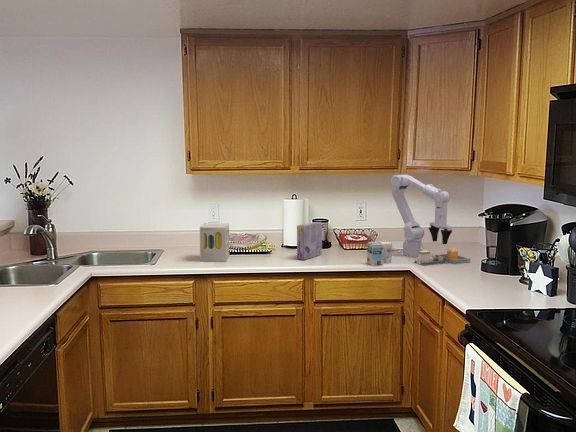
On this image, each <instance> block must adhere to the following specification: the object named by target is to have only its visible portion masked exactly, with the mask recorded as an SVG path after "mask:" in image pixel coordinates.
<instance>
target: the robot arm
mask: <svg viewBox="0 0 576 432" xmlns="http://www.w3.org/2000/svg"><path fill="white" fill-rule="evenodd" d="M389 183H390V186H391V196H392V197H393V200H394V202H395V204H396V207H397V209H398V211H399V214H400V215H401V219H402V220H403V223H404V227H403V228H402V229H403V232H404V238H405V239H404V241H403V243H402V256H406V257H409V258H410V257H411V258H418V251H422V240H423V237H424V236H425V230H424V229H423V228H422V226H421V224H420V223H419V222H417V221H416V220H415V217H414V215H413V212H412V211H411V208H410V206H409V204H408V200H407V198H406V197H405V191H406V190H407V189H408V187H409V186H411V187H413V188H414V189H415V188H416V190H417V189H418V190H420V191H421V192H422V194H423V196H426V197H427V198H430V199H431V200H433V202H434V206H435V210H434V221H433V222H429V227H428V231H429V233H430V234H431V240H432V242H437V241H438V238H439V230H440V229H441V230H440V233H441V237H442V238H441V240H442V242H441V243H442V245H447V244H448V242H449V238H450V237H451V235H452V233H453V230H452V229H453V226H451V225H448V224H447V222H448V219H447V218H448V202H449V201H450V199H451V194H450V193H449V192H448V191H447V190H442V189H441V188H437V187H436V186H434V184H432V183H429V184H424V183H423V182H421V181H420V180H418V179H417V178H415V177H413V176H412V175H409V174H394V175H392V177H391V180H390V182H389Z"/></svg>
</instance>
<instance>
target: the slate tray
mask: <svg viewBox="0 0 576 432" xmlns="http://www.w3.org/2000/svg"><path fill="white" fill-rule="evenodd" d="M439 256H441V257H443V261H445V263H447V264H452V265H460V264H468V263H471V258H468V257H465V256H461V255H459V254H458V260H452V259H449V258H447V253H444V254H443V253H441V254H435V257H434V259H437V258H439Z"/></svg>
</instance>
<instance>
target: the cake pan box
mask: <svg viewBox="0 0 576 432" xmlns="http://www.w3.org/2000/svg"><path fill="white" fill-rule="evenodd" d="M296 254H297V255H296V257H297V258H296V259H298V260H302V261H304V260H309V259H312V258H315V257H316V258H317V257H319V256H322V255H323V222H322V221H313V222H310V223H309V222H308V223H307V222H306V223H303V224H298V225H296Z"/></svg>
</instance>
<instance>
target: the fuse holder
mask: <svg viewBox="0 0 576 432" xmlns="http://www.w3.org/2000/svg"><path fill="white" fill-rule="evenodd" d="M412 263H414V264H417V265H419V266H423V267H426V266H436V265H437V266H438V265H443V264H444V265H446V264H448V262H445V261H443V257H441V256H439V258H437V259H435V258H434V257H431V256H430V262H424V263H421V259H419V258H418V257H416V260H414V261H413V262H412Z"/></svg>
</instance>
